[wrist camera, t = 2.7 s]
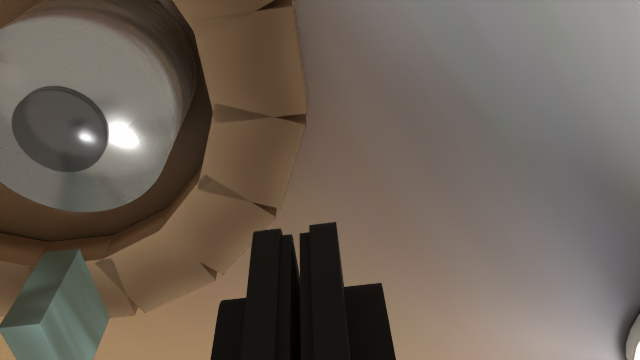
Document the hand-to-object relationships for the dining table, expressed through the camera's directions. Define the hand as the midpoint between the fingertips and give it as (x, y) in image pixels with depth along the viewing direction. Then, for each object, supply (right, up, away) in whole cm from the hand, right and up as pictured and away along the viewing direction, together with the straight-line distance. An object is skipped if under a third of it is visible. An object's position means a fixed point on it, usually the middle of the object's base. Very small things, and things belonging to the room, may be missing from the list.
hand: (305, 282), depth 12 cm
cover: (-9, +7, +14) cm, 18 cm away
